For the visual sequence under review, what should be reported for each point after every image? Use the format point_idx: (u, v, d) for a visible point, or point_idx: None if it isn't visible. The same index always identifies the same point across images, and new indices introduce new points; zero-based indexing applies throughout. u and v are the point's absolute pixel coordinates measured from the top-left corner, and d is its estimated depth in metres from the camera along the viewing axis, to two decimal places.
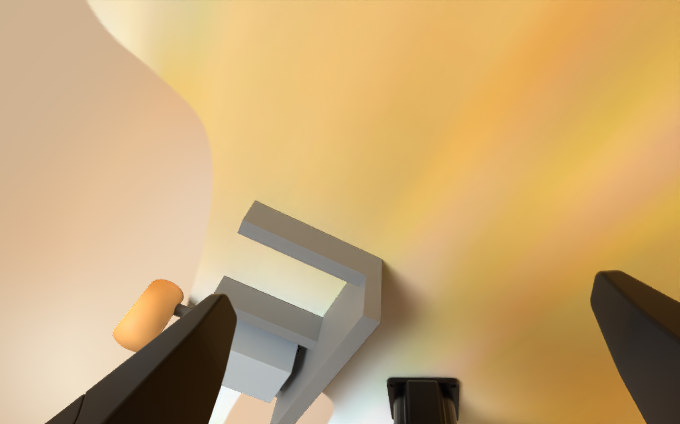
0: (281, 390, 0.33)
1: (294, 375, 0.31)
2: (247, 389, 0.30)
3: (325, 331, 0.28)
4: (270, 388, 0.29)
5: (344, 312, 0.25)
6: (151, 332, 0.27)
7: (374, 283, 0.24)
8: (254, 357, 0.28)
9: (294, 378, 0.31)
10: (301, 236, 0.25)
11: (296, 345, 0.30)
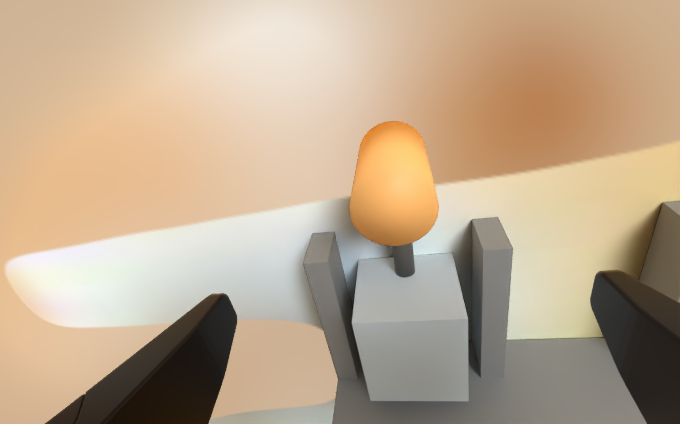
0: (358, 377, 0.21)
1: None
2: (380, 373, 0.18)
3: (532, 377, 0.20)
4: (409, 393, 0.18)
5: (611, 390, 0.18)
6: None
7: None
8: (467, 359, 0.17)
9: None
10: None
11: None
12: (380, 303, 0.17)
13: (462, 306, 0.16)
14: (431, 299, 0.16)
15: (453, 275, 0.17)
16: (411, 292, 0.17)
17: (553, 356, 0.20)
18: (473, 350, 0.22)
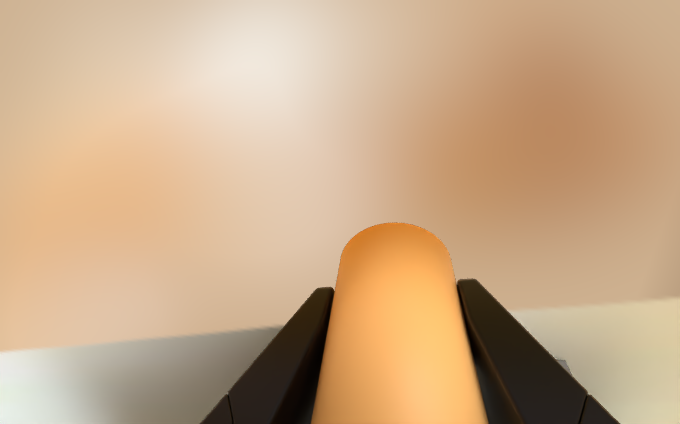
0: None
1: None
2: None
3: None
4: None
5: None
6: None
7: None
8: None
9: None
10: None
11: None
12: None
13: None
14: None
15: None
16: None
17: None
18: None
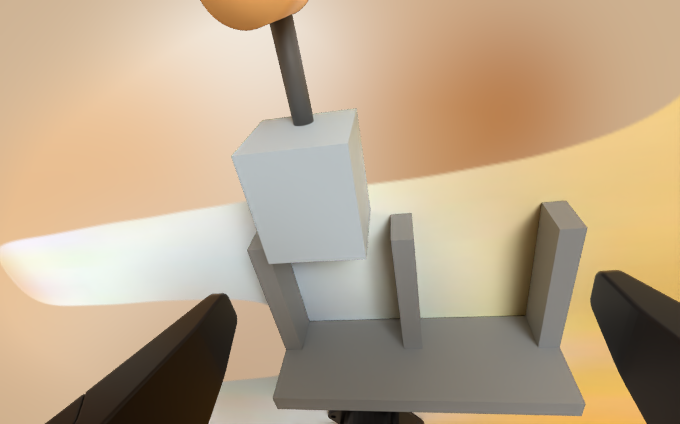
0: (302, 348, 0.25)
1: (348, 352, 0.24)
2: (271, 225, 0.17)
3: (446, 348, 0.23)
4: (306, 251, 0.18)
5: (506, 358, 0.22)
6: (281, 8, 0.12)
7: None
8: (357, 202, 0.16)
9: (350, 357, 0.24)
10: None
11: (368, 226, 0.19)
12: (266, 142, 0.16)
13: (346, 136, 0.15)
14: (318, 135, 0.15)
15: (349, 120, 0.17)
16: (301, 134, 0.16)
17: (466, 331, 0.24)
18: None
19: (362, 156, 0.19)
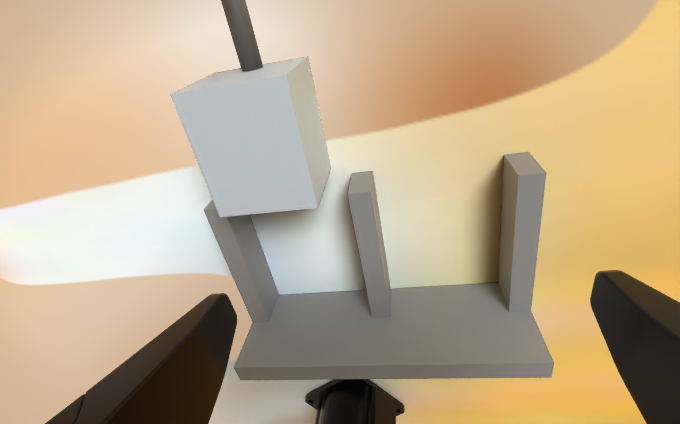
0: (269, 320, 0.24)
1: (315, 322, 0.23)
2: (218, 173, 0.16)
3: (414, 315, 0.22)
4: (255, 201, 0.17)
5: (476, 322, 0.21)
6: None
7: None
8: (303, 144, 0.15)
9: (317, 326, 0.23)
10: None
11: (325, 181, 0.19)
12: (209, 83, 0.15)
13: (287, 71, 0.14)
14: (261, 74, 0.15)
15: (296, 63, 0.16)
16: (245, 75, 0.16)
17: (437, 299, 0.23)
18: None
19: (317, 108, 0.19)
